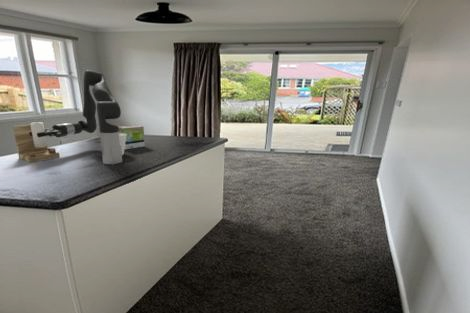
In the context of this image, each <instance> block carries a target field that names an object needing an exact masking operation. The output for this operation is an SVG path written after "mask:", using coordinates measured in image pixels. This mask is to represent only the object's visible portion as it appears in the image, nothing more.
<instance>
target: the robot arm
mask: <svg viewBox="0 0 470 313" xmlns="http://www.w3.org/2000/svg"><path fill="white" fill-rule="evenodd" d="M90 87H92V90H90V89H91V88H90ZM91 91H92V93H91ZM92 95H93V96H92ZM94 99H95V100H96V101H97V104H96V101H95V100H94ZM121 110H122V109H121V107H120V105H119V102H117V100H116V99H115V97H114V95H113V94H112V91H111V90H110V88H109V86H108V84H107V81H106V78H105V76H104V74H103V73H101V72H99V71H94V70H92V69H91V70H90V69H86V70H85V71H84V74H83V109H82V116H83V117H84V118H85V119H86V120H85V119H81V120H78V121H75V122H70V123H66V122H64V123H60V124H59V123H58V124H54V125H52V127H50V128H48V127H47V128H45V129H44V130H45V132H41V133H37V137H43V136H46V137H49V138H51V137H56V138H62V137H67V136H69V137H70V136H72V135H77V134H81V133H82V132H86V133H90V134H92V133H95V131H96V130H97V127H98V126H97V119H96V114H97V118H98V125H99V137H100V145H101V154H102V156H101V157H102V163H103V164H104V165H112V166H113V165H116V164H120V163H123V155H122V150H121V146H120V138H119V128H118V126H119V125H115V124H112V123H109V122H107V120H117V119H119V118H120V117H121V113H122V111H121ZM96 112H97V113H96ZM29 134H30V136H32V132H29Z"/></svg>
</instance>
